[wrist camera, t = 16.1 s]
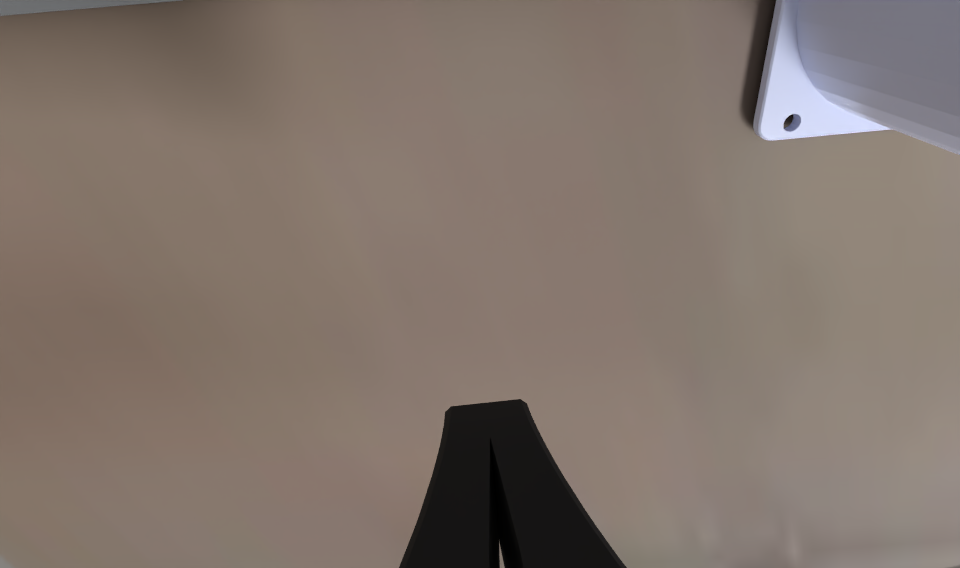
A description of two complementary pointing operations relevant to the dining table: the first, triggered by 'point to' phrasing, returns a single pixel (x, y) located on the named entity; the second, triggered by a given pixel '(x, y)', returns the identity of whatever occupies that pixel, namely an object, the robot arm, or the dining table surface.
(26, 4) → the mat
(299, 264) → the dining table surface
